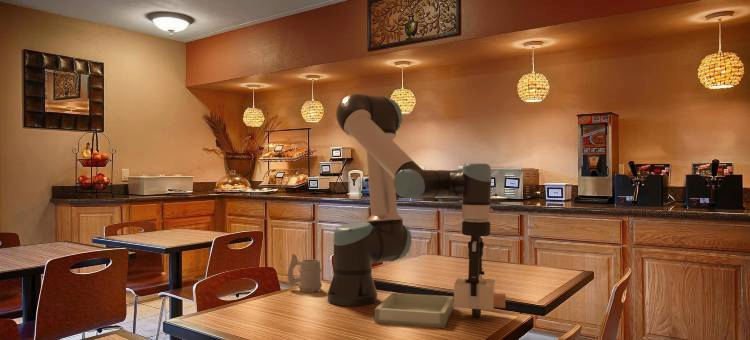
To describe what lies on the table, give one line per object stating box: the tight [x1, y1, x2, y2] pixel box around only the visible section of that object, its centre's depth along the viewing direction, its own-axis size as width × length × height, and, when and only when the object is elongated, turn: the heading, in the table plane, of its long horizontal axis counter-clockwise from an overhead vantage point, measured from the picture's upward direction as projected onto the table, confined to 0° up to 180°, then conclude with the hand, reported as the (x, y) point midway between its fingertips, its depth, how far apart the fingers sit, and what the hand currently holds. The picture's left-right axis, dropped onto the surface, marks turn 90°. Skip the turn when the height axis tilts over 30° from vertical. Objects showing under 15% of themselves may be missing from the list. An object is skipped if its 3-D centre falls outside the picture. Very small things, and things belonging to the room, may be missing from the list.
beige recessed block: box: [453, 276, 507, 311], centre depth 140 cm, size 13×10×6 cm
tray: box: [374, 292, 455, 329], centre depth 143 cm, size 18×20×4 cm
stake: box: [471, 309, 482, 319], centre depth 140 cm, size 4×2×7 cm, turn 75°
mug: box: [287, 253, 323, 293], centre depth 175 cm, size 8×12×12 cm, turn 80°
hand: (475, 303), depth 141 cm, fingers closed on beige recessed block, 10 cm apart
